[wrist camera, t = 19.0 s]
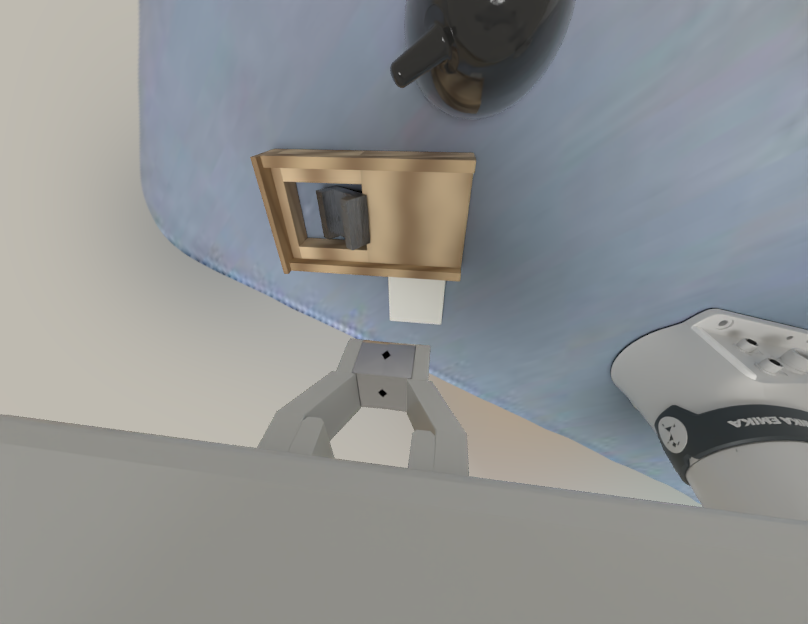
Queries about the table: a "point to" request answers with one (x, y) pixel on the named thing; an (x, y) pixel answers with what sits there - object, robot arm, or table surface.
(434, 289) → the white square plate
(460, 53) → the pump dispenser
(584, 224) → the table surface
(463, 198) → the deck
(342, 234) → the clip
